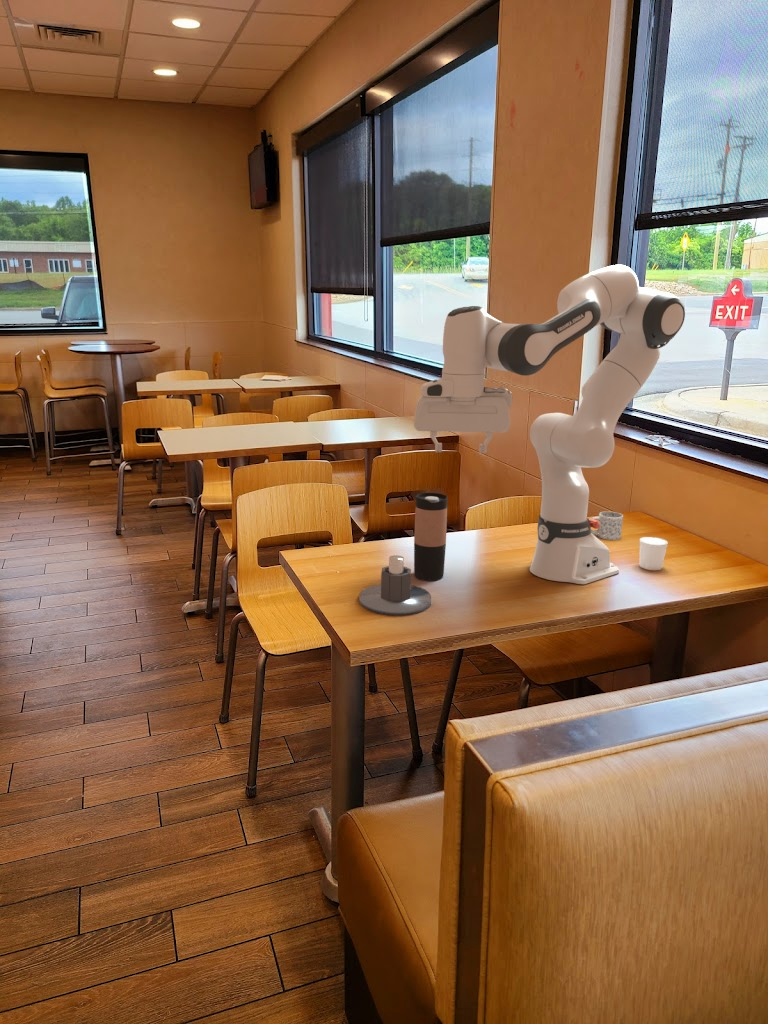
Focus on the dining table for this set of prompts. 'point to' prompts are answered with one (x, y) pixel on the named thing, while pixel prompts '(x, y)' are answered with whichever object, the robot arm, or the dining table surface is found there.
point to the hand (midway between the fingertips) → (460, 452)
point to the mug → (608, 525)
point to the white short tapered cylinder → (652, 553)
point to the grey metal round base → (375, 603)
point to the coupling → (395, 585)
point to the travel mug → (430, 536)
